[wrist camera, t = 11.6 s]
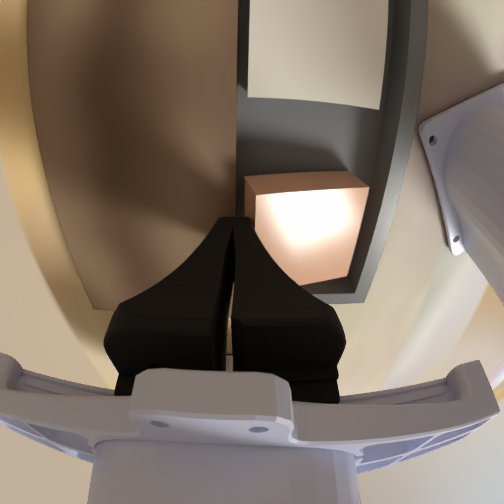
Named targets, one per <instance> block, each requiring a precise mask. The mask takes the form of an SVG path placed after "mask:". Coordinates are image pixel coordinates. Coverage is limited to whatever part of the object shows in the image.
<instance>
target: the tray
mask: <svg viewBox="0 0 504 504" xmlns="http://www.w3.org/2000/svg"><path fill="white" fill-rule="evenodd" d="M427 12H428V0H388V24H387V40H386V53H385V64H384V74H383V83H382V91H381V99H380V107H379V110H377V109H371V108H365V107H358V106H352V105H345V104H337V103H328V102H319V101H309V100H297V99H282V98H258V97H248V56H249V18H250V0H239V39H238V98H237V217H244V176H254V175H267V174H282V173H300V172H323V171H349V172H351V173H352V174H353V175H354V176H356V177H357V178H358V179H360V180H361V181H362V182H363V183H365V184H366V185H367V186H368V187H369V192H368V196H367V201H366V205H365V209H364V214H363V218H362V222H361V226H360V230H359V234H358V238H357V241H356V245H355V249H354V253H353V256H352V260H351V263H350V267H349V270H348V274H347V276H345V277H340V278H335V279H330V280H325V281H320V282H315V283H310V284H305V285H300V286H301V287H302V288H303V289H305V290H306V291H307V292H309V293H310V294H312V295H313V296H315V297H316V298H318V299H320V300H321V301H323V302H325V303H326V304H347V303H364V302H365V299H366V296H367V294H368V291H369V289H370V286H371V283H372V280H373V278H374V275H375V272H376V269H377V266H378V263H379V261H380V258H381V255H382V252H383V249H384V246H385V242H386V239H387V236H388V233H389V230H390V226H391V223H392V220H393V216H394V213H395V209H396V206H397V202H398V198H399V195H400V191H401V187H402V183H403V179H404V175H405V171H406V167H407V162H408V158H409V153H410V149H411V144H412V139H413V134H414V128H415V123H416V117H417V112H418V105H419V99H420V92H421V85H422V77H423V69H424V59H425V48H426V34H427Z"/></svg>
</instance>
